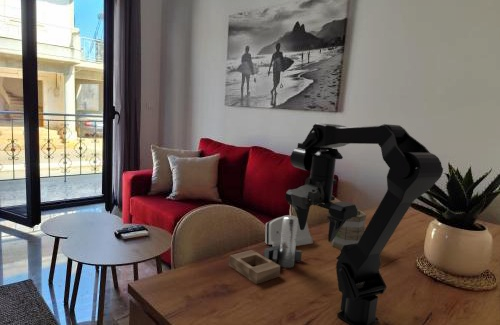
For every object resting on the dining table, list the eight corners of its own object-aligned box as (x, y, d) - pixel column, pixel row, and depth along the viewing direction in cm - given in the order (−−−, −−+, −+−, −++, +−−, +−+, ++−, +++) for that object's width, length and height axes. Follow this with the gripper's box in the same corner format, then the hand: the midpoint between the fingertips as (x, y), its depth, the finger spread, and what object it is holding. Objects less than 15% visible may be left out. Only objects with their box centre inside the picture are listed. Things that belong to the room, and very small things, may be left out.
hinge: (272, 249, 107) (269, 217, 109) (265, 248, 111) (262, 218, 113) (313, 243, 115) (310, 213, 117) (305, 242, 119) (302, 214, 121)
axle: (297, 265, 97) (301, 218, 95) (286, 269, 94) (290, 220, 92) (286, 259, 100) (290, 214, 98) (275, 263, 97) (279, 216, 96)
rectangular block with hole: (279, 276, 89) (280, 265, 89) (256, 284, 84) (257, 273, 84) (251, 259, 99) (252, 249, 98) (228, 265, 94) (229, 255, 93)
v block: (302, 261, 100) (303, 251, 100) (273, 270, 93) (274, 260, 92) (285, 252, 106) (286, 243, 105) (256, 260, 98) (257, 250, 98)
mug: (369, 250, 112) (373, 215, 111) (342, 253, 108) (346, 217, 107) (340, 234, 127) (343, 203, 125) (315, 235, 123) (319, 204, 121)
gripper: (272, 169, 85) (267, 229, 87) (332, 185, 71) (324, 255, 73) (302, 168, 92) (297, 222, 94) (362, 181, 78) (354, 246, 80)
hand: (315, 235), depth 85 cm, fingers open, 9 cm apart
